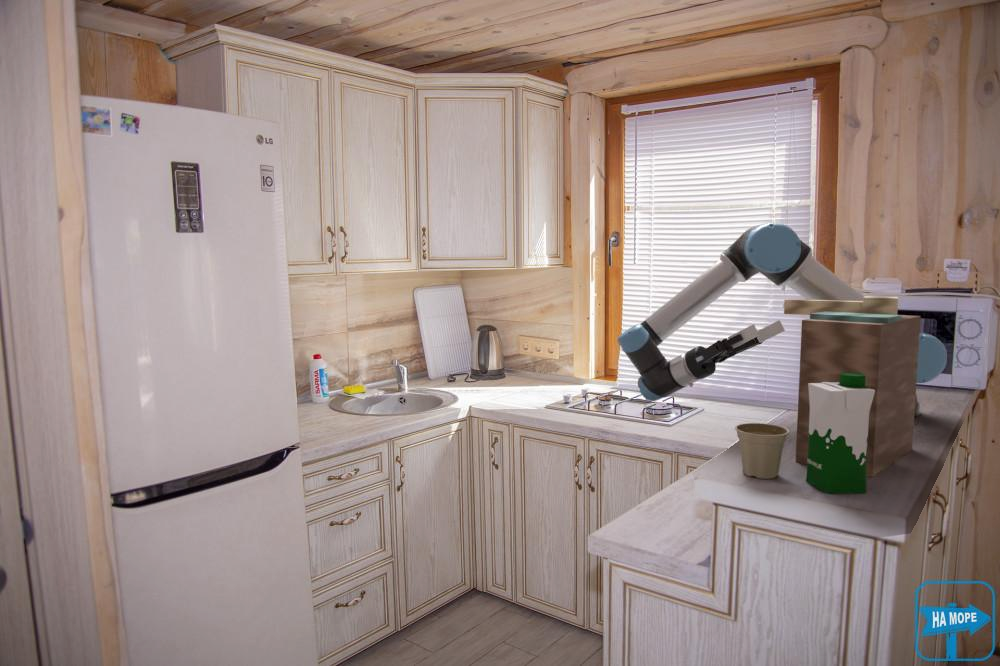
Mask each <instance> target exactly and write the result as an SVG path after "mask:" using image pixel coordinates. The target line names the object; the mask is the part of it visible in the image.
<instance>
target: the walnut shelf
mask: <svg viewBox="0 0 1000 666" xmlns="http://www.w3.org/2000/svg"><path fill="white" fill-rule="evenodd" d="M920 330H921V315H905V314H897V315H885V314H866V313H846V312H827V311H824V312H818V313H811V314H810V315H809V318H808V319H807V318H806V319H802V320H801V334H800V357H799V359H800V360H799V378H798V399H797V401H798V403H797V417H796V418H797V419H796V420H797V424H796V425H797V426H796V440H795V441H796V443H795V447H796V448H795V463H800V464H804V465H807V460H808V440H809V417H810V401H809V387H808V383H822V382H839V379H840V373H844V372H851V373H861V374H865V376H866V378H865V386H867V387H868V388H871V389H873V390H875V393H874V397H873V400H872V404H871V408H870V412H869V424H868V442H867V460H866V477H869V478H873V477H876V475H877V473H878V474H879V473H880V471H881V470H882V471H884V470H885V469H887V468H888V467H890V466H891V465H892V464H893V463H895V462H896V461H898V460H900V459H901V458H902V457H904V456H905V455H907V454H908V453H910V452H911V451H913V443H914V441H913V440H914V429H915V428H914V427H915V416H914V413H915V398H916V395H917V383H916V382H917V366H918V350H919V334H920ZM903 455H904V456H903ZM900 457H901V458H900ZM897 459H898V460H897ZM890 464H891V465H890ZM887 466H888V467H887ZM884 468H885V469H884ZM882 471H881V472H882Z"/></svg>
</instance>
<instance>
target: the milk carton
mask: <svg viewBox="0 0 1000 666" xmlns="http://www.w3.org/2000/svg"><path fill="white" fill-rule="evenodd" d="M865 378H866V376H865V374H861V373H851V372H844V373H840V379H839V382H822V383H808V387H809V401H810V417H809V440H808V460H807V464H806V475H805V476H806V478H805V480H806V481H805V482H807V483H808V484H810V485H812V486H813V487H815V488H817V489H818V490H820V491H822V492H823V493H824V494H827V495H831V494H832V495H833V494H834V495H837V494H839V495H841V494H864V493H865V494H866V493H867V476H866V460H867V442H868V424H869V412H870V408H871V404H872V400H873V397H874V393H875V390H873V389H871V388H868V387H867V386H865Z"/></svg>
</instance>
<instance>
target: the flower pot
mask: <svg viewBox="0 0 1000 666" xmlns="http://www.w3.org/2000/svg"><path fill="white" fill-rule="evenodd" d="M734 430H735V431H736V434H737V435H736V436H737V438H738V440H739V441H738V442H739V449H740V451H739V452H740V457H741V458H740V459H741V466H742V467H741V468H742V472H743V474H744V475H746V476H747V477H755V478H757V479H761V480H765V479H766V480H767V479H769V480H770V479H774V478H776V477H777V476H779V474H780V473H779V471H780V468H781V460H782V456H783V449H784V446H785V445H784V444H785V442H786V440H787V436H788V435H789V434H790V430H789V429H788V428H786V427H784V426H781V425H779V424H773V423H772V424H771V423H761V422H747V423H739V424H737V425H735V426H734Z"/></svg>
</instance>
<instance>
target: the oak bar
mask: <svg viewBox="0 0 1000 666" xmlns="http://www.w3.org/2000/svg"><path fill="white" fill-rule="evenodd" d="M898 307H899V296H881V295H880V296H879V295H877V296H876V295H875V296H874V295H870V296H869V295H865V296H864V297H863V301H837V300H806V299H801V298H800V299H799V298H797V299H793V298H786V299H784V307H783V308H784V309H783V314H784V315H801V316H802V315H805V316H807V315H808V316H810V314H811V313H818V312H824V311H827V312H846V313H866V314H885V315H898V311H899V310H898Z"/></svg>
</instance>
